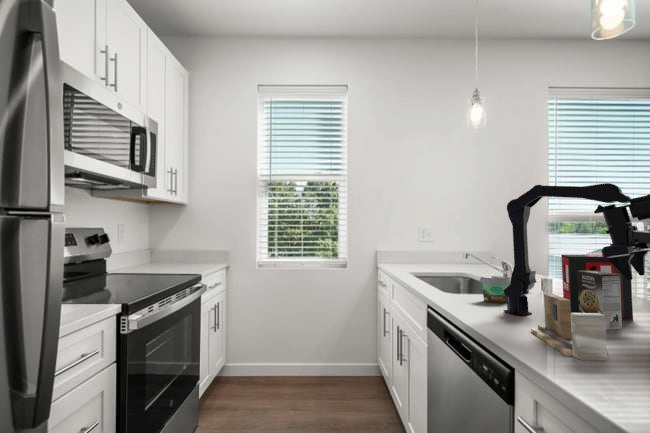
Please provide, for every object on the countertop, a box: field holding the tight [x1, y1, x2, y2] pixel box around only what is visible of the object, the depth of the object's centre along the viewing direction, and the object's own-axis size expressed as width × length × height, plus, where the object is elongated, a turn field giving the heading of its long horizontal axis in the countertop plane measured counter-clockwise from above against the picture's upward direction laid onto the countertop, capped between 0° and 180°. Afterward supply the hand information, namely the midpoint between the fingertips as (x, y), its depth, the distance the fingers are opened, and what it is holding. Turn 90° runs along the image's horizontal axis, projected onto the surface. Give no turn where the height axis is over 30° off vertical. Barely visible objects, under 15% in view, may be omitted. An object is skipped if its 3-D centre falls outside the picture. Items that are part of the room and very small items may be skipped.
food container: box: [479, 276, 511, 305], centre depth 144 cm, size 12×6×10 cm, turn 81°
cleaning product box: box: [561, 254, 634, 322], centre depth 121 cm, size 16×9×20 cm, turn 70°
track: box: [530, 313, 609, 361], centre depth 92 cm, size 22×9×10 cm, turn 171°
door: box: [543, 293, 572, 339], centre depth 97 cm, size 9×3×10 cm, turn 171°
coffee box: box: [577, 270, 623, 331], centre depth 109 cm, size 9×6×16 cm
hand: (636, 277), depth 103 cm, fingers open, 9 cm apart
